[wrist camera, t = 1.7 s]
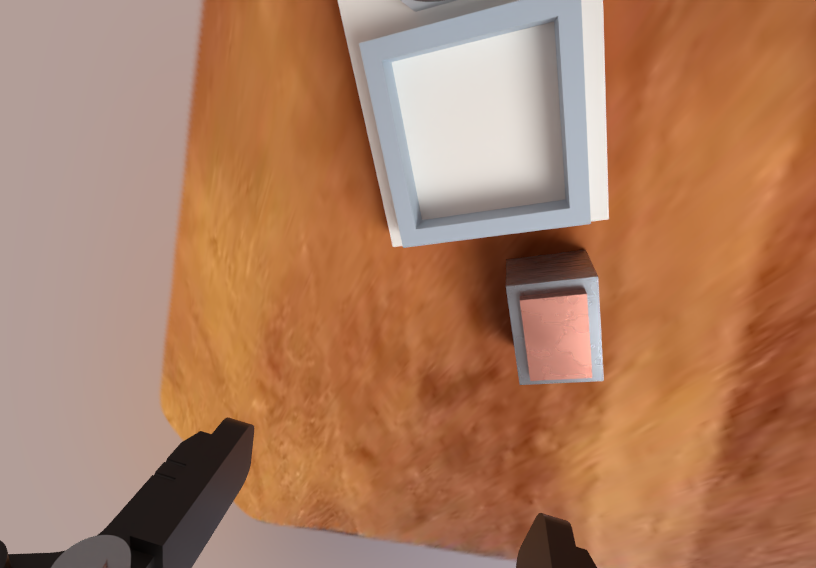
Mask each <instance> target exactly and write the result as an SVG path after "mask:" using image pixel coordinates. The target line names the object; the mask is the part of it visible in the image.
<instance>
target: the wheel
mask: <svg viewBox="0 0 816 568" xmlns="http://www.w3.org/2000/svg"><path fill="white" fill-rule="evenodd" d="M415 1H422V2H439V1H444V0H415Z"/></svg>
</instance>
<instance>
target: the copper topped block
mask: <svg viewBox="0 0 816 568" xmlns="http://www.w3.org/2000/svg"><path fill="white" fill-rule="evenodd" d="M506 291H507V298H508V305H509V312H510V319H511V326H512V333H513V341H514V348H515V355H516V362H517V369H518V376H519V383H520V385H526V384H548V383H569V382H591V381H604V378H603V359H602V341H601V322H600V304H599V285H598V275H597V273H596V271H595V269H594V267H593V265H592V262H591V260H590V258H589V256H588V254H587V252H586V250H578V251H570V252H562V253H554V254H546V255H538V256H530V257H522V258H514V259H506Z"/></svg>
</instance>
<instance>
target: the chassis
mask: <svg viewBox="0 0 816 568" xmlns="http://www.w3.org/2000/svg"><path fill="white" fill-rule="evenodd" d="M338 5H339V9H340V14H341V18H342V22H343V27H344V31H345V36H346V40H347V45H348V49H349V54H350V58H351V62H352V67H353V71H354V76H355V80H356V85H357V89H358V94H359V98H360V102H361V107H362V111H363V116H364V120H365V125H366V129H367V134H368V138H369V142H370V147H371V151H372V156H373V160H374V165H375V169H376V174H377V178H378V182H379V187H380V191H381V196H382V200H383V205H384V209H385V214H386V218H387V222H388V227H389V231H390V236H391V240H392V245H393V247H396V246H403V248H405V247H413V246H420V245H428V244H436V243H444V242H452V241H460V240H468V239H475V238H483V237H491V236H499V235H507V234H515V233H523V232H530V231H538V230H546V229H554V228H562V227H570V226H578V225H585V224H591V221H598V220H606V219H609V209H608V172H607V134H606V97H605V60H604V22H603V0H444V1H439V2H422V1H415V0H338Z"/></svg>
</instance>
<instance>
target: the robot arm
mask: <svg viewBox="0 0 816 568" xmlns="http://www.w3.org/2000/svg"><path fill="white" fill-rule="evenodd" d="M253 437H254V426H253V425H251V424H248V423H245V422H241V421H238V420H235V419H231V418H226V419H224V420H223V421H222V422H221V424H220V425H219V426H218V427H217V428H216V430H215V431H214V432H213V433H212V434H209V433H205V432H202V431H200V432H198V433H197V434H195V435H193V436H192V437H190V438H188V439H187V440H185V441H183V442H182V443H180V445H179V446H178V447H177V448H176V449H175V450H174V452H173V453H172V454H171V455H170V456H169V457H168V458H167V461H166V462H164V463H163V464H162V465H161V466H160V467H159V468H158V470H157V471H156V472H155V475H154V476H153V475H152V476H151V478H150V479H149V480H148V481H147V482H146V483H145V484H144V485H143V487H142V488H141V489H140V490H139V491H138V492H137V493H136V495H135V496H134V497H133V498H132V499H131V500H130V501H129V502H128V504H127V505H126V506H125V507H124V508H123V509H122V510H121V512H120V513H119V514H118V515H117V516H116V517H115V518H114V519H113V521H112V522H111V523H110V524H109V525H108V526H107V527H106V528H105V529H104V530H103V531H102V532H101V533H100V534H98V535H97V536H93V537H90V538H87V539H85V540H82V541H80V542H78V543H76V544H75V545H73V546H71V547H70V548H69V549H67V550H66V551H61V552H54V553H34V554H33V553H32V554H8V552H7V548H6V546H5V544H4V543H3V542H2V541H0V568H192V566H193V565H194V563H195V561H196V560H197V558H198V557H199V555H200V553H201V552H202V550H203V548H204V547H205V545H206V544H207V542H208V541H209V539H210V537H211V536H212V534H213V533H214V531H215V529H216V528H217V526H218V525H219V523H220V521H221V520H222V518H223V517H224V515H225V513H226V512H227V510H228V508H229V507H230V505H231V504H232V502H233V501H234V499H235V497H236V496H237V494H238V493H239V491H240V489H241V488H242V486H243V484H244V482H245V480H246V478H247V475H248V472H249V469H250V465H251V456H252V446H253ZM516 568H597V567H596V565H595V563H594V562H593V560H592V558H591V556H590V555H589V553H588V551H587V550H585V549H582V548H579V547H576V545H575V540H574V536H573V531H572V527H571V524H570V523H569V522H568V521H566V520H562V519H559V518H556V517H552V516H549V515H546V514H542V513H539V514H538V515H537V516H536V518H535V520H534V522H533V524H532V526H531V528H530V530H529V532H528V534H527V536H526V537H525V539H524V541H523V543H522V545H521V547H520V550H519V553H518V557H517V564H516Z"/></svg>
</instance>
